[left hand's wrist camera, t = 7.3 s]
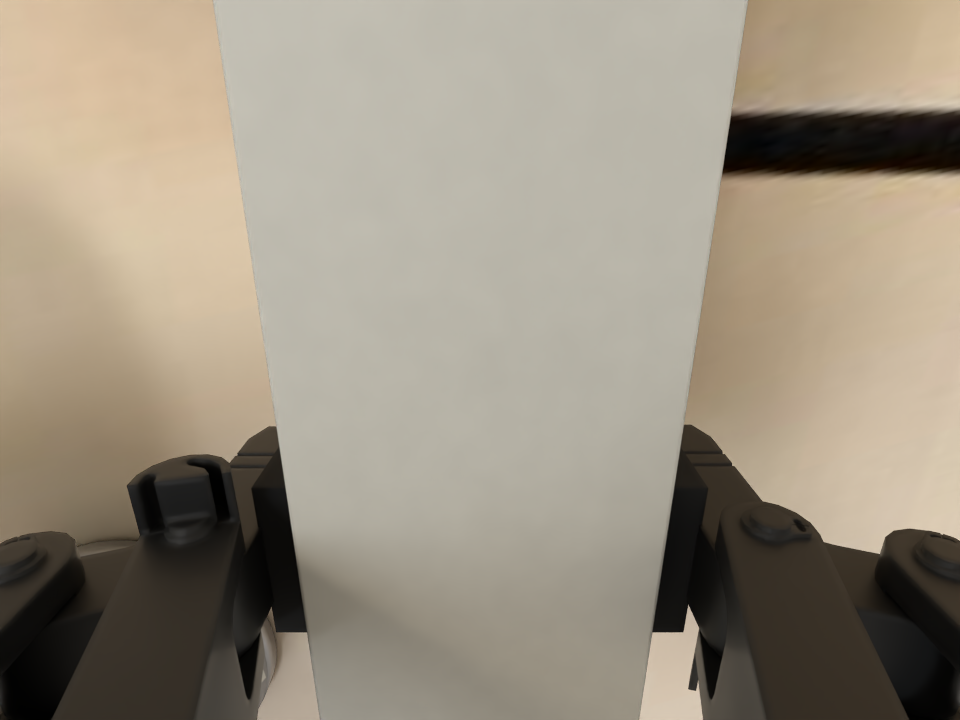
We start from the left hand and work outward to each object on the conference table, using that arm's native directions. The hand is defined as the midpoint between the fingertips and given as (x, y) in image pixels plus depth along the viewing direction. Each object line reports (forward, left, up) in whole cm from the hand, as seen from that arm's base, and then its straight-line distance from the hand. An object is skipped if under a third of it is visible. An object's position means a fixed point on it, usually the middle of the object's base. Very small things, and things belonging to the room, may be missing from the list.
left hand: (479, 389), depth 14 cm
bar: (+20, +15, -1) cm, 25 cm away
